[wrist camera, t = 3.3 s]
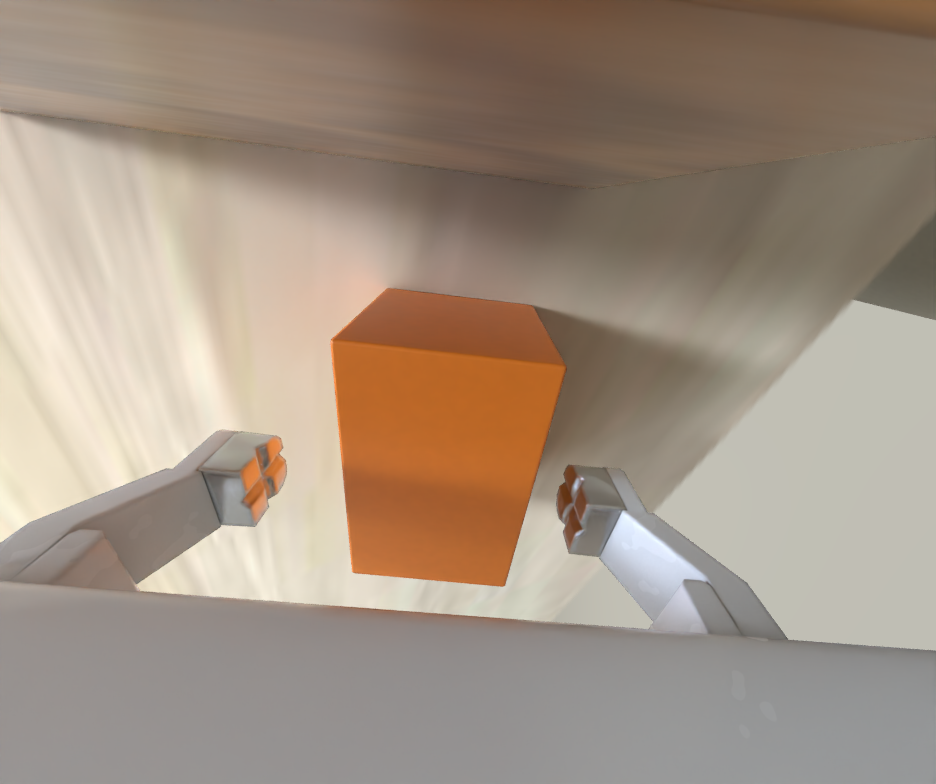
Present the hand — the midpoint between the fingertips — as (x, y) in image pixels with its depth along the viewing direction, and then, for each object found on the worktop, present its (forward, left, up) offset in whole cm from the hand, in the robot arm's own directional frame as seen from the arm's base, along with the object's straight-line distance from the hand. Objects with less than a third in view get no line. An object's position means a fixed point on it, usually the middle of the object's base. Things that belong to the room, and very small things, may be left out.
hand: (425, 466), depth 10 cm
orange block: (0, 0, -4) cm, 4 cm away
